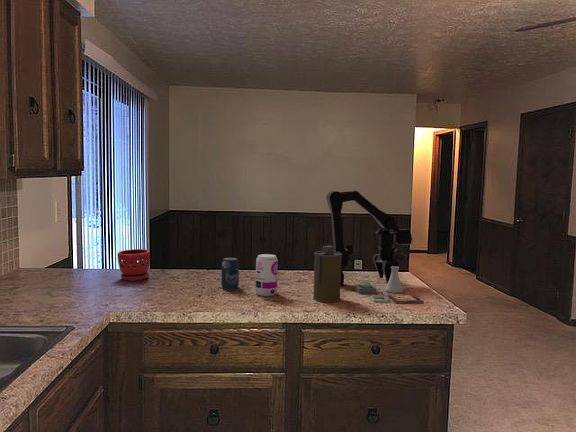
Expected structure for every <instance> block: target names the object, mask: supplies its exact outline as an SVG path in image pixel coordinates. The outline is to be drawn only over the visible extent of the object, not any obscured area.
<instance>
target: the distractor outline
mask: <svg viewBox="0 0 576 432" xmlns="http://www.w3.org/2000/svg"><path fill="white" fill-rule="evenodd" d="M369 299H370V300H371V301H372V302H373V303H390V302H391V299H390V298H389V297H388V296H386V295H370V296H369Z"/></svg>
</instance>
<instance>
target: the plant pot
mask: <svg viewBox="0 0 576 432" xmlns="http://www.w3.org/2000/svg"><path fill="white" fill-rule="evenodd" d="M150 258H151V255H150V250H149V249H146V248H145V249H144V248H143V249H142V248H140V249H139V248H137V249H136V248H134V249H126V250H125V249H124V250H120V251H117V263H118V267H119V270H120V272H121V274H120V278H121V279H122V280H124V281H128V282H129V281H132V282H135V281H141V280H144V279H147V278H148V277H149V276H150V272H149V271H148V270H149V267H150V260H151V259H150Z"/></svg>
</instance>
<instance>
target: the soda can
mask: <svg viewBox="0 0 576 432" xmlns="http://www.w3.org/2000/svg"><path fill="white" fill-rule="evenodd" d="M220 279H221V284H220V285H221V287H222V288H223V290H231V291H232V290H236V289H238V288H239V285H240V262H239V260H238V258H237V257H232V256H230V257H227V256H226V257H223V258H222V261H221V278H220Z"/></svg>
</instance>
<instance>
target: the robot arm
mask: <svg viewBox="0 0 576 432" xmlns="http://www.w3.org/2000/svg"><path fill="white" fill-rule="evenodd" d="M325 199H326V202H327V207H328V209H329V212H330V214H331V215H330V217H331V229H332V230H331V231H332V238H333V239H332V240H333V242H332V243H333V246H335V248H334V252H340V253H342V257H341V286H342V287H344V284H345V274H344V269H345V267H347V266H348V264H349V261H350V260H351V258H350V256H349V255H350V254H349V253H350V250H349V249H348V248H346V247H345V245H344V235H343V234H344V233H343V231H344V230H343V223H342V209H343V203H344V202H345V203H346V202H352V201H353V202H355V203H356V204H357V205H358V206H360V208H361V209H363V210H364V211H365V212H367V213H368V214H369V215H371V217H372V218H373V219H374V220H375V222H376V223H377V224H378V225H379V226H380V227H381V228H378V229H377V230H376V231H374V233H375V234H376V235H379V245H378V246H377V249H378V250H379V252H378V253H374V254H373V255H372V261H373V264H374V266H375V268H376V270H377V275H378V276H379V278H380V279H383V278H385V282H386V284H388V281H389V279H390V276H391V272H392V268H391V267H392V266H396V267H399V269H400V267H401V266H400V265H401V264H400V262H401V263H405V261H406V258H407V255H406V254H404V253H401V252H402V251H401V250H400V249H397V248H395V247H394V243H395V244H396V246H399V245H400V246H401V245H402V246H409V245H411V244H412V242H413V236H412V232H411V229H409V228H404V229H402V228H399V226H398V225H397V223H396V222H397V220H396V219H395V218H394V216H392V215H390V214H388V213H386V212H384V211H382V210H381V209H379V208H378V207H377V206H376V205H374V204H373V203H372V202H371V201H369V200H368V199H367V198H366V197H365V196H363V195H362V194H361V193H360V192H359V191H358V190H350V191H349V190H348V191H337V190H330V191H329V192H328V193H327V194H326V198H325ZM390 231H392V232H390ZM399 261H400V262H399Z"/></svg>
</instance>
